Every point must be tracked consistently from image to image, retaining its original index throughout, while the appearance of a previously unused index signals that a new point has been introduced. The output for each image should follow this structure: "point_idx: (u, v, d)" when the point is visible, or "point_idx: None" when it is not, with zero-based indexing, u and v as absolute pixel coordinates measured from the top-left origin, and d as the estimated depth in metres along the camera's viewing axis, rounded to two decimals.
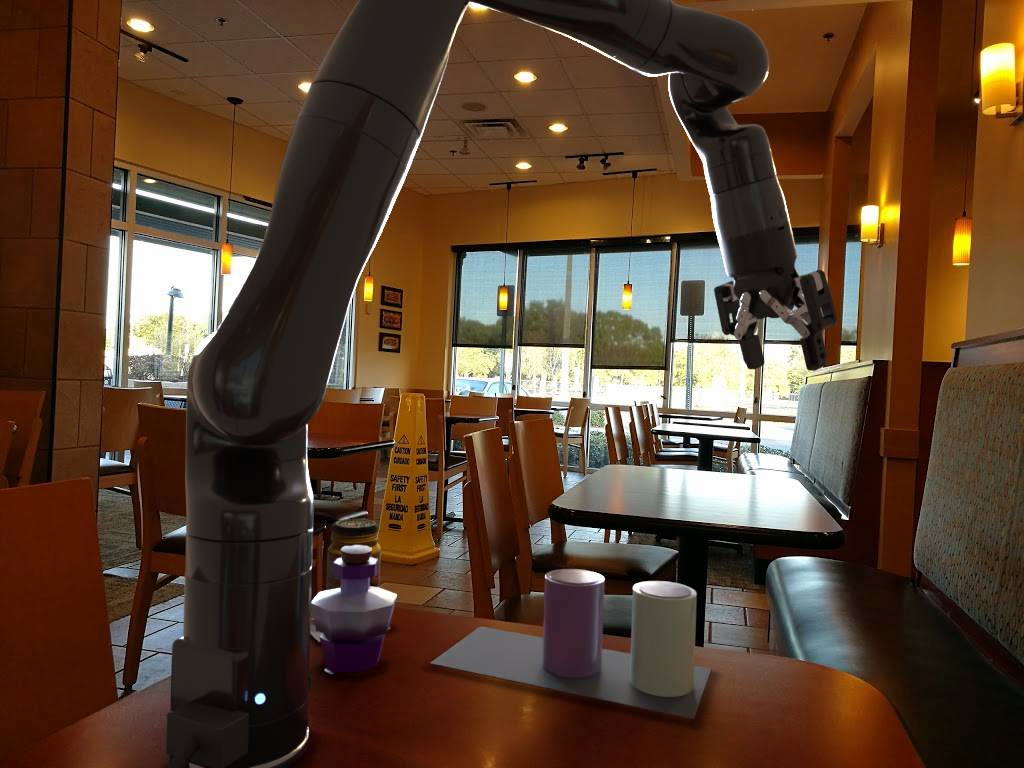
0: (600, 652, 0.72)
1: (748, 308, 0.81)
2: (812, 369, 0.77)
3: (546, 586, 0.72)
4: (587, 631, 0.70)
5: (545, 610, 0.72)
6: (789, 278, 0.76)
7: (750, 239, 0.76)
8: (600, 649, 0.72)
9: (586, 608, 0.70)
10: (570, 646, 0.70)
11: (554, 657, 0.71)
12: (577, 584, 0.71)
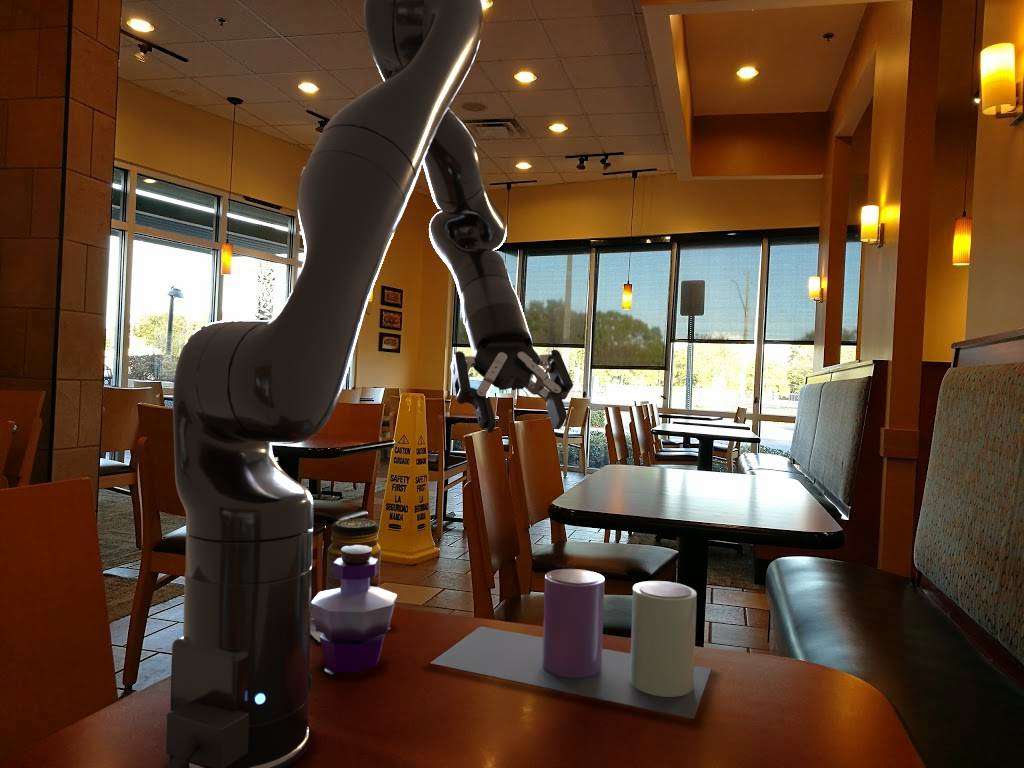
0: (600, 652, 0.72)
1: (501, 366, 0.86)
2: (563, 419, 0.85)
3: (546, 586, 0.72)
4: (587, 631, 0.70)
5: (545, 610, 0.72)
6: (537, 353, 0.90)
7: (519, 310, 0.91)
8: (600, 649, 0.72)
9: (586, 608, 0.70)
10: (570, 646, 0.70)
11: (554, 657, 0.71)
12: (577, 584, 0.71)
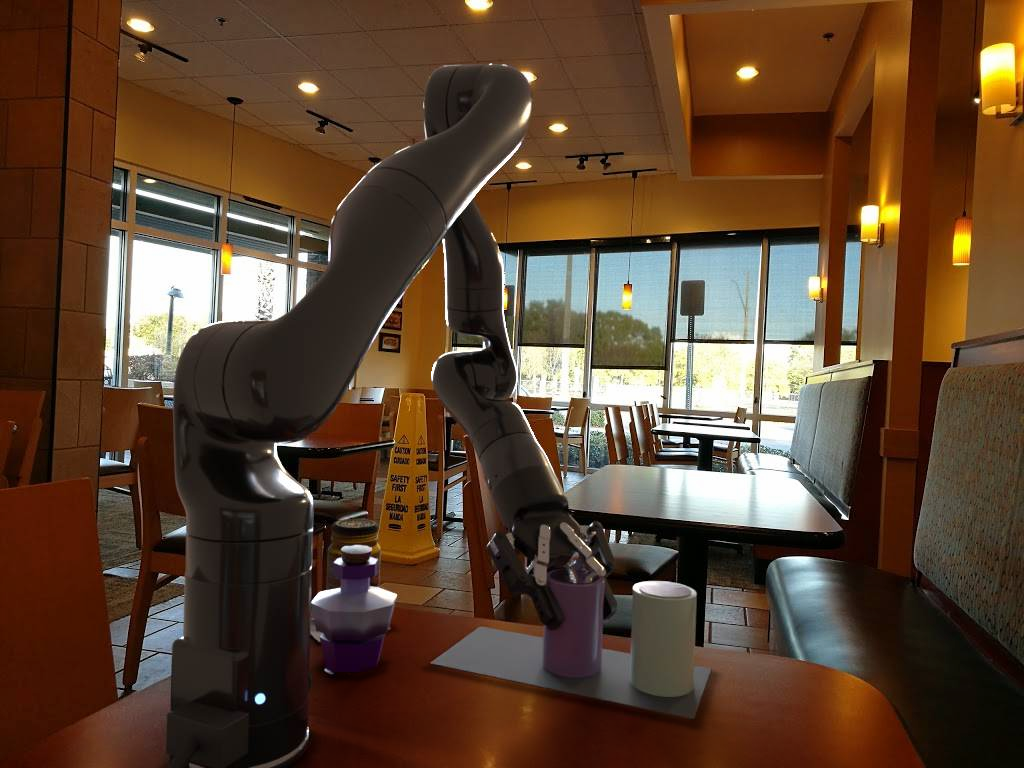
0: (600, 652, 0.72)
1: (548, 542, 0.75)
2: (615, 609, 0.73)
3: None
4: (587, 631, 0.70)
5: None
6: (577, 523, 0.80)
7: (553, 473, 0.80)
8: (600, 649, 0.72)
9: (586, 608, 0.70)
10: (570, 646, 0.70)
11: (554, 657, 0.71)
12: (577, 584, 0.71)
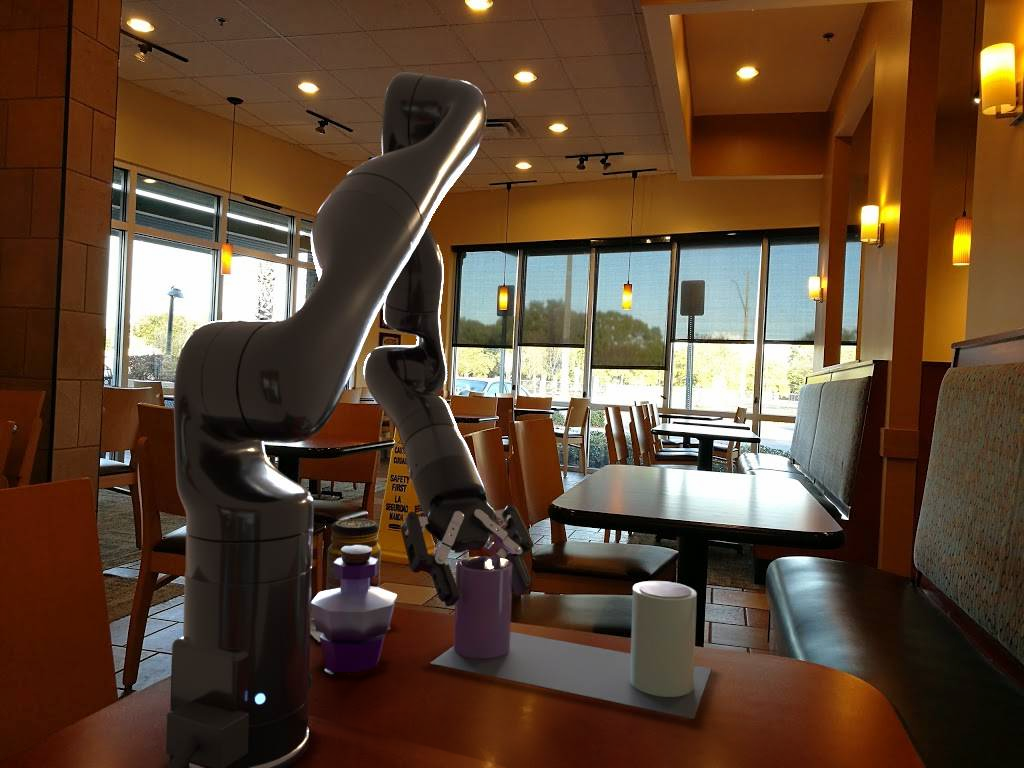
0: (507, 634, 0.76)
1: (458, 527, 0.78)
2: (528, 584, 0.78)
3: (456, 572, 0.76)
4: (493, 614, 0.74)
5: None
6: None
7: (472, 462, 0.84)
8: (507, 632, 0.76)
9: (492, 593, 0.74)
10: (476, 628, 0.74)
11: (462, 639, 0.75)
12: (484, 569, 0.75)
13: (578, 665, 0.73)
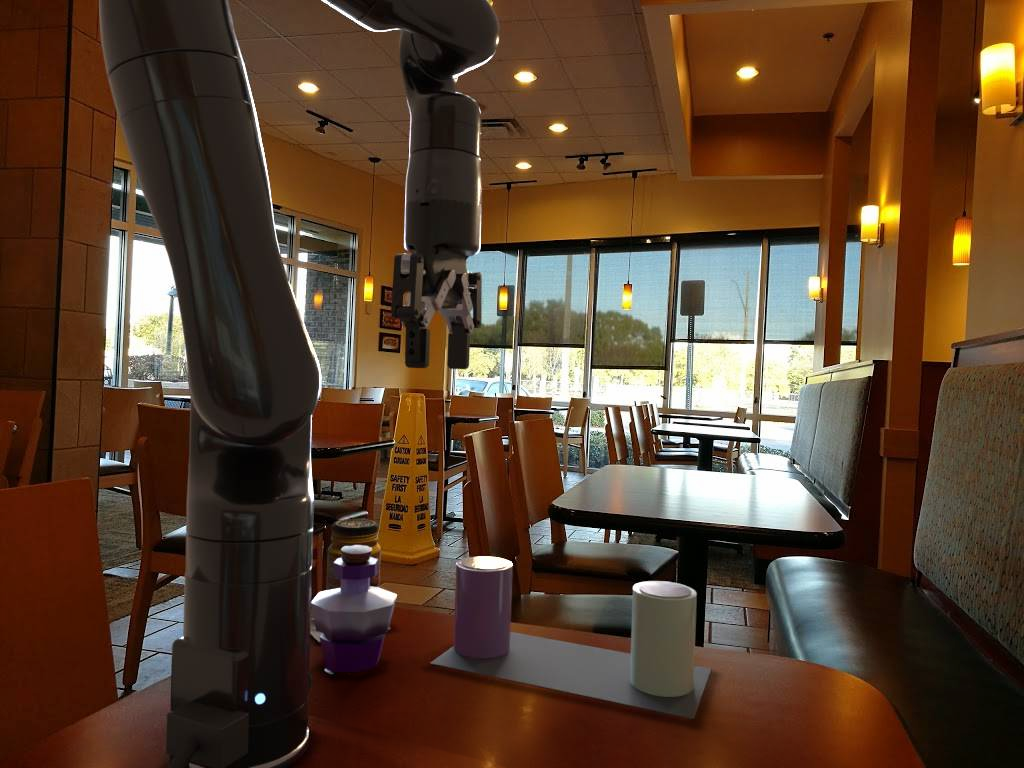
0: (507, 634, 0.76)
1: None
2: (406, 365, 0.68)
3: (456, 572, 0.76)
4: (493, 614, 0.74)
5: (455, 595, 0.76)
6: None
7: (405, 211, 0.71)
8: (507, 632, 0.76)
9: (492, 593, 0.74)
10: (476, 628, 0.74)
11: (462, 639, 0.75)
12: (484, 569, 0.75)
13: (578, 665, 0.73)
